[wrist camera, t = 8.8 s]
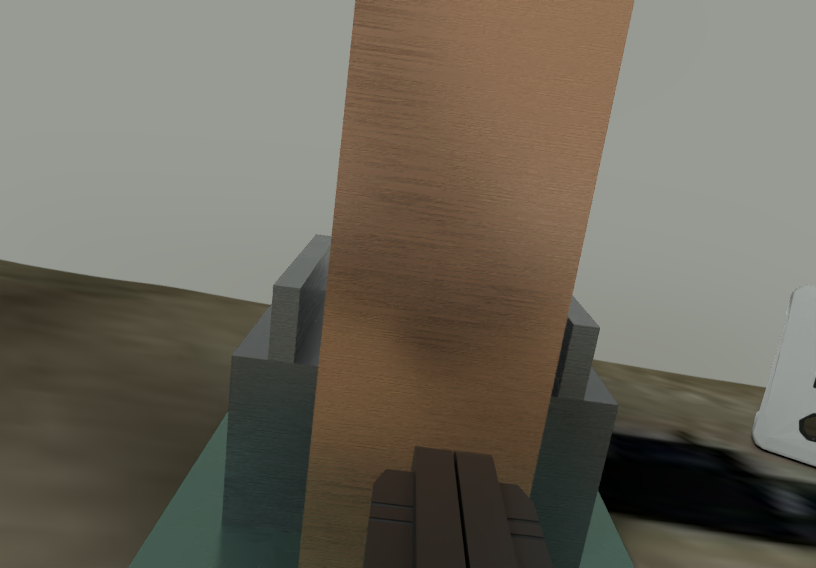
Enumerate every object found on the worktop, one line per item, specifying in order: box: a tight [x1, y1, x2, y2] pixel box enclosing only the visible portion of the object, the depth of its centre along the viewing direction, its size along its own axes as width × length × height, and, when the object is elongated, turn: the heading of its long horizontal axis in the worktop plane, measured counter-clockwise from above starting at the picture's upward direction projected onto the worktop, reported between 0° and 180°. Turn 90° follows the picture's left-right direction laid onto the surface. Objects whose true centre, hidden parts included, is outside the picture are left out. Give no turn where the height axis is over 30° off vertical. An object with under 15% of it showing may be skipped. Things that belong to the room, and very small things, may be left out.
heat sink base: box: [128, 234, 635, 568], centre depth 22 cm, size 16×28×13 cm, turn 179°
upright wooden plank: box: [298, 0, 634, 568], centre depth 21 cm, size 6×12×18 cm, turn 179°
